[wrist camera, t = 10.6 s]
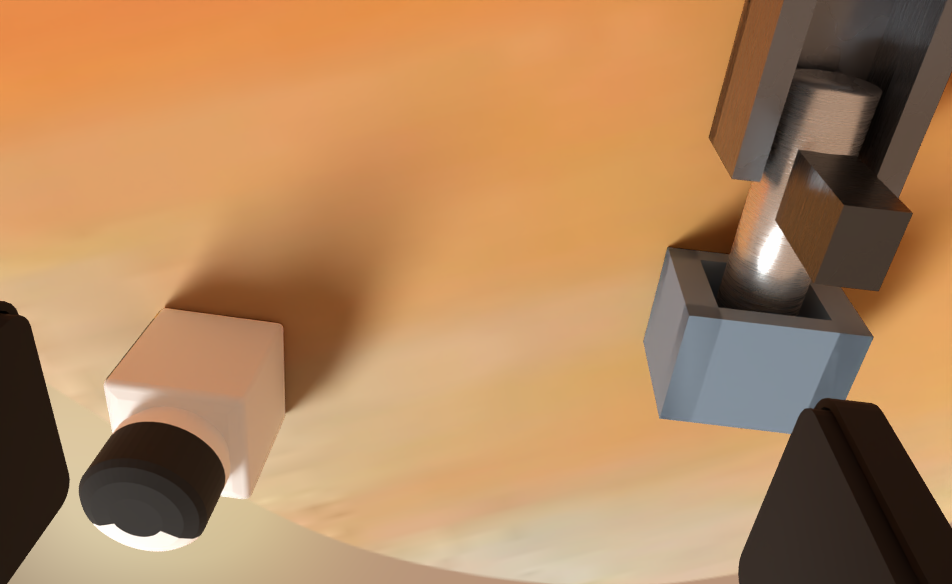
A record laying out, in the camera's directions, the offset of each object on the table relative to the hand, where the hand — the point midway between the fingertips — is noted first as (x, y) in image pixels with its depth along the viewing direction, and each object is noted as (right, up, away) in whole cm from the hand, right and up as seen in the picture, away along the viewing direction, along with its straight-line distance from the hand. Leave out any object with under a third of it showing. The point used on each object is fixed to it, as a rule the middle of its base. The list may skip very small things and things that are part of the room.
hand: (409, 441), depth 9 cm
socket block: (+14, +1, +31) cm, 35 cm away
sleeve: (+16, +14, +23) cm, 32 cm away
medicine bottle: (-14, -2, +36) cm, 39 cm away
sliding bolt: (+15, +6, +27) cm, 31 cm away
